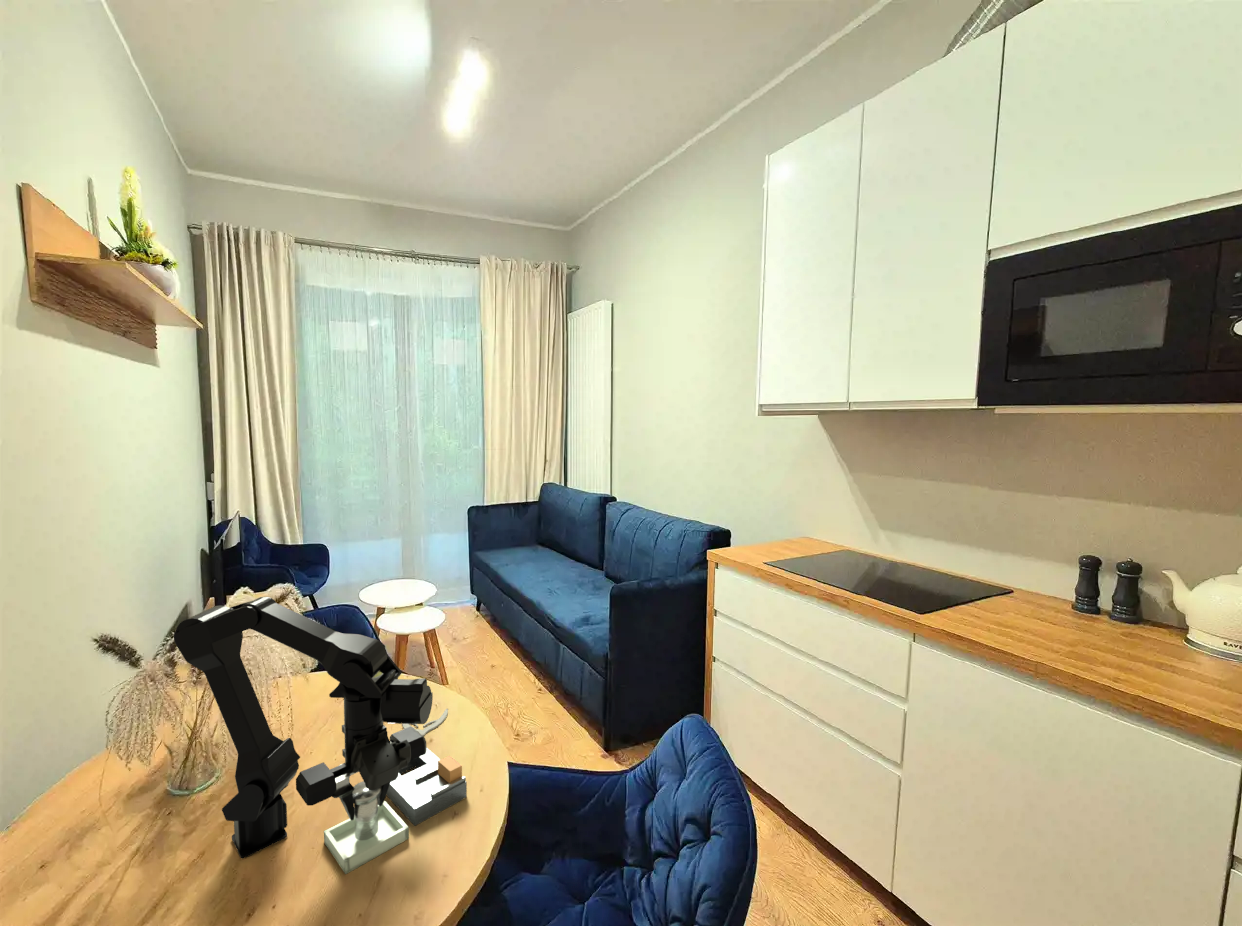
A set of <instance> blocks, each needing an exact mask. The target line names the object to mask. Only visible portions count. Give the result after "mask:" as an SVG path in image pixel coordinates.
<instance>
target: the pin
mask: <svg viewBox="0 0 1242 926" xmlns="http://www.w3.org/2000/svg"><path fill="white" fill-rule="evenodd" d="M353 787H354V788H355V789H354V791H353V793H352V794H353V803H354V821H355V838H356V839H357V840H367V839H370V838H372V837H373V836H375V835H376V834H377V832H378V797H379V795H380V794H381V786H380V787H379V788H378V789H375V790H369V789H367V788H366V786H365V782H364V781H363V780H362V781H360V782H358V783H356V784H354V786H353Z"/></svg>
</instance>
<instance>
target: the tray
mask: <svg viewBox="0 0 1242 926" xmlns="http://www.w3.org/2000/svg"><path fill="white" fill-rule="evenodd" d="M409 830H410V827H409V826H408V825H407V823H406V822H405V821H404V820H403V819H402V818H401V817H400V815H398V814H397V812H395V810H394V809H393V808H392V807H391V806H390V805H389V804H388V802H387V801H386V800H384V802H383V805H382V806H379V805H378V832H377V834H376V835H375V836H373V837H372V838H370V839H367V840H357V839H356V838H355V821H354V820H352V821H351V820H350V818H349V817H348V819H345V820H344V821H341V822H339V823H338V824H336V825H334V826H332V827H330V828H327V829H326V830H323V842H324V845H325V846H326V848H327V849H328V851H329V852H330V853H331V855H332V857H333V858H334V859H335V861H336V862H337V864H338V865H339V867H340V868H341V870H342V871H343V873H344V875H348V874H349V873H350V872H352V871H354V870H357V869H358V868H360V867H361V866H363V865H365V864H366V863H368V862H370V861H371V860H373V859H375V858H376V857H378V856H380V855H382V854H385V852H388V851H389V850H391V849H394V848H395V847H397V846H398V845H400V844H402V843H403V842H405V841H407V840H408V839H410V833H409V832H410V831H409Z"/></svg>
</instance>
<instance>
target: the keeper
mask: <svg viewBox="0 0 1242 926" xmlns="http://www.w3.org/2000/svg"><path fill="white" fill-rule="evenodd" d="M438 774H439V775H440V776H441V777H442V778H444V779H445V780H446V781H447V782H448V783H451V782H453V781H455V780H457V779H459V778H461V777H463V765H462V764H461V763H460V762H458V761H457V760H456V758H454V757H453V756H451V755H450V754H449V755H447V756H445V757H443V758H441V760H439V761H438Z"/></svg>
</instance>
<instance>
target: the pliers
mask: <svg viewBox="0 0 1242 926" xmlns="http://www.w3.org/2000/svg"><path fill="white" fill-rule="evenodd" d="M448 711H449V709H448V708H445V710H444V711H443V713H442V714H441V716H440V717H439V718H437V719H433V720H431V721H428V722H426V723H425V724H422V727H423V729H418V728H419V724H401V726H402V728H403V729H406V728H408V727H412V728H414V729H415V730H416V731H417V732H419V733H420V734H421V735H422V736H423V737H425V735H427V734H428V733H429V732H431V731H433V730H435V729H436V728H438V727H439V726H440V725H442V724H443V723H444V721H445V720H446V718H447V716H448V713H449V712H448ZM412 725H413V726H412ZM415 727H416V728H415Z"/></svg>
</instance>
